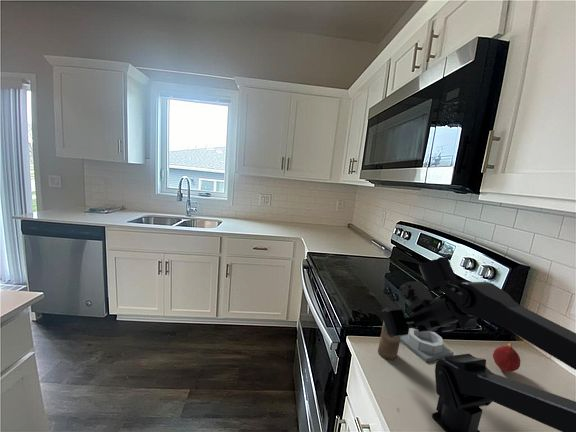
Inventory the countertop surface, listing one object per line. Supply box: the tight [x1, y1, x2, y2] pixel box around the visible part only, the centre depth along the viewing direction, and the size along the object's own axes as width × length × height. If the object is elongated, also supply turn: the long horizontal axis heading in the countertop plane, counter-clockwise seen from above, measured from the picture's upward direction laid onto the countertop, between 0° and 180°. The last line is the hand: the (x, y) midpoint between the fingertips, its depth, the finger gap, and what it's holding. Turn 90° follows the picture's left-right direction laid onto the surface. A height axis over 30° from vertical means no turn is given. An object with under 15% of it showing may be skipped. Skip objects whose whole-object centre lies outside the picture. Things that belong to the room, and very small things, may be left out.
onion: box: [492, 343, 521, 373], centre depth 74 cm, size 6×6×8 cm
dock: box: [400, 328, 454, 363], centre depth 82 cm, size 11×11×4 cm
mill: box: [377, 320, 401, 361], centre depth 76 cm, size 5×5×13 cm
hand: (398, 327), depth 73 cm, fingers open, 9 cm apart
